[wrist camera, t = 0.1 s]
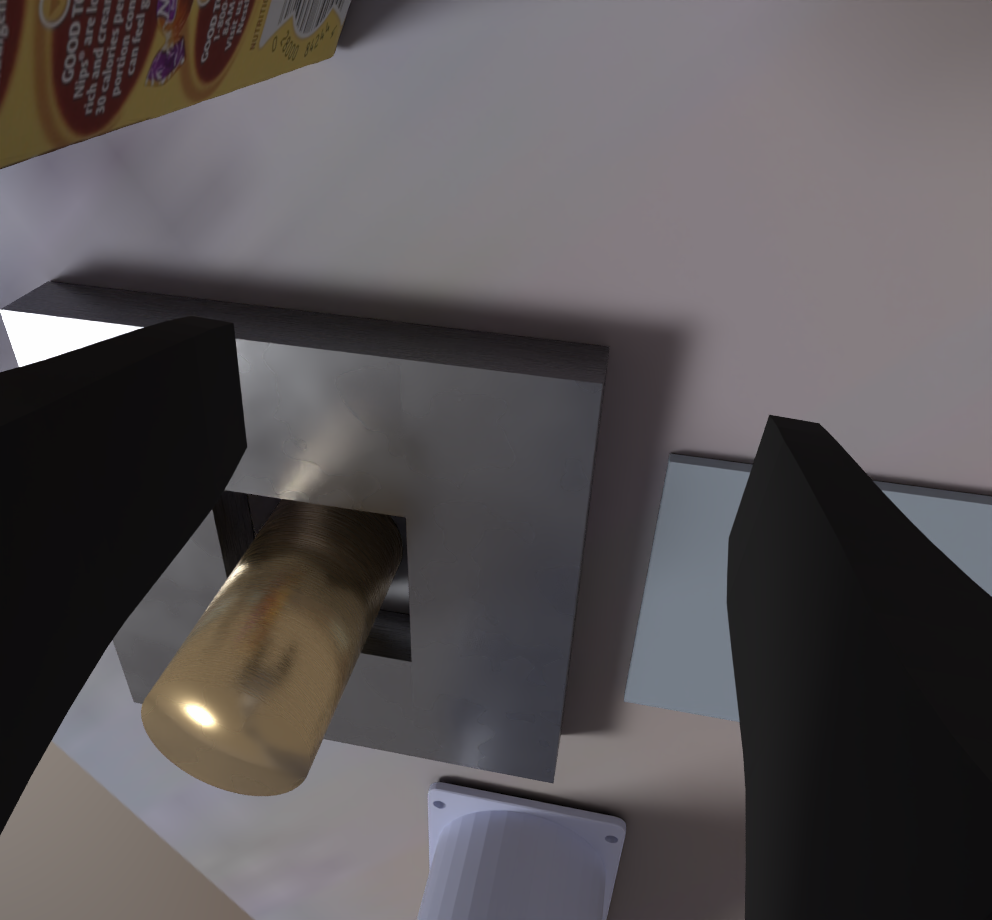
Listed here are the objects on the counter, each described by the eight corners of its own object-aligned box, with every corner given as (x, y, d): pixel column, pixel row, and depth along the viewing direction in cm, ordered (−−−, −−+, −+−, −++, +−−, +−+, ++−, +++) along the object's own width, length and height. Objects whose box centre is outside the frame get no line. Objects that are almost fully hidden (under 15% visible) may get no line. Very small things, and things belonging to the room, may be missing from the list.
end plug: (404, 597, 27) (317, 810, 21) (282, 576, 28) (161, 777, 22) (400, 493, 25) (299, 699, 18) (266, 473, 26) (123, 666, 19)
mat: (929, 745, 27) (933, 756, 26) (624, 692, 28) (623, 701, 28) (1061, 505, 21) (1066, 515, 21) (669, 453, 22) (669, 461, 22)
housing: (560, 735, 30) (553, 783, 28) (161, 662, 32) (133, 702, 31) (609, 347, 21) (602, 383, 19) (48, 281, 23) (0, 309, 21)
